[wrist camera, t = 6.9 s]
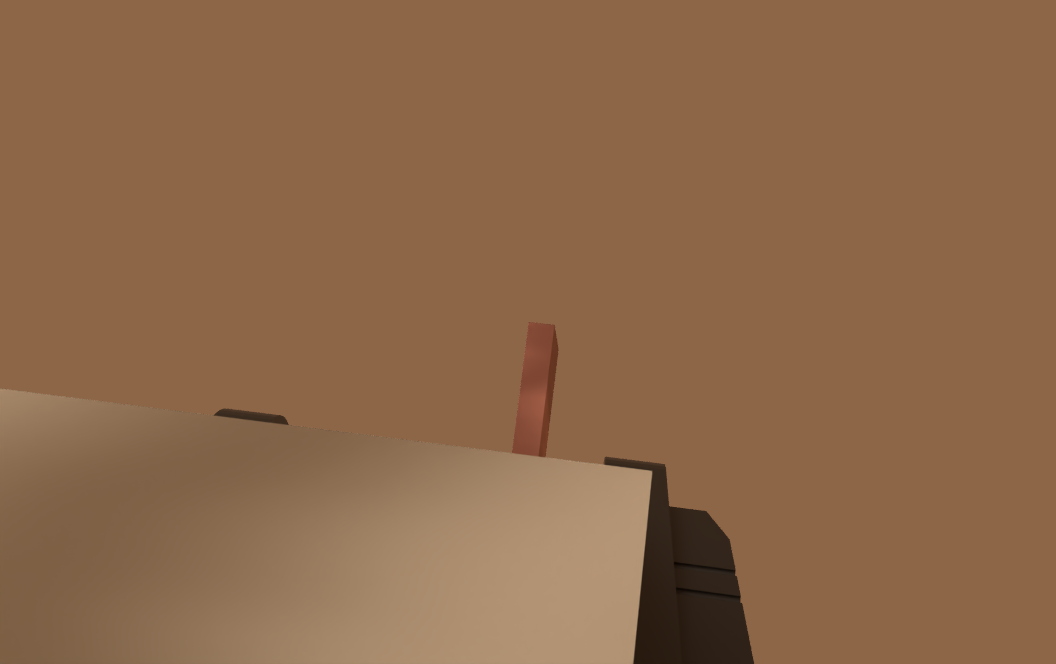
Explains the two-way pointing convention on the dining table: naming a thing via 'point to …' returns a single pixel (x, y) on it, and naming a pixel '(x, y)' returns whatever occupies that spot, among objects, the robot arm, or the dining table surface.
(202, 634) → the tan wooden block
